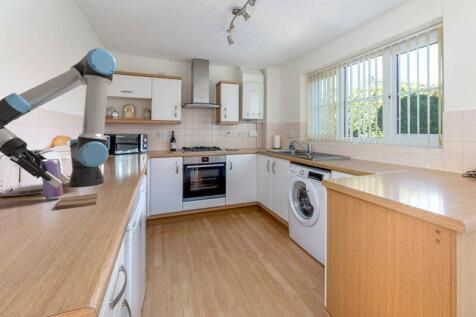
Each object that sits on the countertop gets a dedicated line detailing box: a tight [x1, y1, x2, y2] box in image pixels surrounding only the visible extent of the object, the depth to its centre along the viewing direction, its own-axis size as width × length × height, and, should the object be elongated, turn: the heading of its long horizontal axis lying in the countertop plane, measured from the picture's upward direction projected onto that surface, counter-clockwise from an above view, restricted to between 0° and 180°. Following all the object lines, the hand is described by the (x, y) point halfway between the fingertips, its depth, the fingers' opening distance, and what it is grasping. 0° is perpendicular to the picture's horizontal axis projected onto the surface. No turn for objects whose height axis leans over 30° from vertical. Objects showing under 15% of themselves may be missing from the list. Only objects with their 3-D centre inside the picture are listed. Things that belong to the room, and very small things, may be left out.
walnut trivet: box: [55, 193, 99, 211], centre depth 88 cm, size 12×12×1 cm
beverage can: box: [40, 158, 64, 200], centre depth 92 cm, size 6×6×15 cm
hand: (63, 183), depth 93 cm, fingers closed on beverage can, 6 cm apart
